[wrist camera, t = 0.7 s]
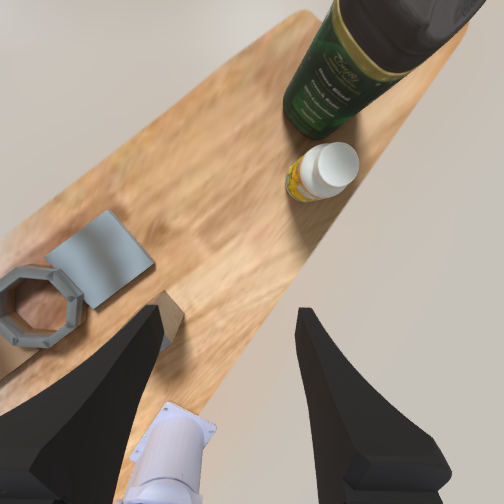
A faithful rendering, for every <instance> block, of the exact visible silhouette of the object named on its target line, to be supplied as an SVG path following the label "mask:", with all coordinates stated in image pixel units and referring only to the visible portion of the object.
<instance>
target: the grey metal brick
mask: <svg viewBox="0 0 504 504" xmlns="http://www.w3.org/2000/svg"><path fill="white" fill-rule="evenodd" d="M145 305H158V307H159V311H160V315H161V319H162V323H163V327H164V332H165V333H164V337H163V341H162V345H161V348H160V352H162V351H163V350H164V349H166V348H167V347H168V346H169V345H171V344H172V343H173V340H174V338H175V336H176V333H177V331H178V328H179V326H180V323H181V321H182V318H183V316H184V312H183V311H182V310H181V309H180V308H179V306H178V305H177V304H176V303H175V302H174V301H173V300H172V298H171V297H170V296H169V295H168V294H167V293H166V291H165V290H163V291H162V292H161V293H160V294H158V295H157V296H156V297H154V298H153V299H152V300H150V301H149V302H148V303H146V304H145ZM145 305H144V306H145ZM144 306H143V307H144ZM143 307H141V308H140V309H139V310H138V311H137V312H136V313H135V314H134V315H133V316H132V317H131V318H130V319H129V320H128V322H129V321H130V320H131V319H132V318H133V317H134V316H135V315H136V314H137V313H138V312H139V311H140V310H141V309H142V308H143ZM128 322H127V323H128ZM127 323H126V324H127ZM126 324H125V325H126ZM125 325H124V326H125ZM124 326H123V327H124ZM123 327H122V328H123ZM122 328H121V329H122ZM121 329H120V330H121ZM120 330H119V331H120ZM119 331H118V332H119ZM118 332H117V333H118ZM160 352H159V353H160Z"/></svg>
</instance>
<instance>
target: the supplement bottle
mask: <svg viewBox="0 0 504 504" xmlns="http://www.w3.org/2000/svg"><path fill="white" fill-rule="evenodd" d="M358 170H359V158H358V155H357V153H356V151H355V150H354V148H353V147H351V146H350V145H349V144H347V143H343V142H334V143H331V144H328V143H325V144H320V145H317V146H315V147H313V148H312V149H310V150H309V151H308V152H307V153H305V154H304V155H303V156H302V157H301V158H299V159H298V160H297V161H296V162H294V163H293V164H292V165H291V166H290V168H289V169H288V171H287V174H286V188H287V191H288V193H289V194H290V195H291V196H292V197H293V198H294V199H296V200H297V201H300V202H312V201H316V200H320V199H325V198H329V197H333V196H335V195H337V194H339V193H340V192H342V191H343V190H344V189H345V187H346V186H347V185H348V184H349V183H351V182H352V181H353V180H354V179H355V177H356V175H357V173H358Z"/></svg>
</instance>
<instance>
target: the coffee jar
mask: <svg viewBox="0 0 504 504" xmlns="http://www.w3.org/2000/svg"><path fill="white" fill-rule="evenodd" d="M485 1H486V0H334V1H333V3H332V5H331V7H330V9H329V11H328V13H327V15H326V17H325V19H324V21H323V23H322V25H321V27H320V29H319V30H318V32H317V34H316V36H315V38H314V40H313V42H312V43H311V45H310V47H309V49H308V51H307V53H306V55H305V57H304V58H303V60H302V62H301V64H300V66H299V67H298V69H297V71H296V73H295V75H294V76H293V78H292V80H291V82H290V84H289V86H288V87H287V89H286V91H285V94H284V98H283V107H284V110H285V113H286V115H287V117H288V118H289V120H290V121H291V122H292V123H293V125H294V126H295V127H296V128H297V129H298V130H299V131H300V132H301V133H302V134H304V135H305V136H307V137H308V138H311V139H316V140H319V139H323V138H325V137H327V136H329V135H330V134H331V133H333V132H334V131H335V130H337V129H338V128H339V127H341V126H342V125H343V124H344V123H346V122H347V121H348V120H349V119H351V118H352V117H353V116H354V115H356V114H357V113H358V112H360V111H361V110H362V109H364V108H365V107H366V106H368V105H369V104H370V103H372V102H373V101H374V100H376V99H377V98H378V97H380V96H381V95H382V94H383V93H385V92H386V91H387V90H389V89H390V88H391V87H392V86H394V85H395V84H396V83H398V82H399V81H400V80H401V79H403V78H404V77H405V76H407V75H408V74H409V73H410V72H412V71H413V70H414V69H416V68H417V67H418V66H420V65H421V64H422V63H423V62H424V61H426V60H427V59H428V58H429V57H430V56H432V55H433V54H434V53H435V52H436V51H437V50H438V49H439V48H441V47H442V46H443V45H444V44H445V43H447V42H448V41H449V40H450V39H451V38H452V37H453V36H454V35H455V34H456V33H457V32H458V31H459V30H460V29H461V28H462V27H463V26H464V25H465V24H466V23H467V22H468V21H469V20H470V19H471V18H472V17H473V16H474V15H475V13H476V12H477V11H478V10H479V9H480V8H481V6H482V5H483V4H484V3H485Z"/></svg>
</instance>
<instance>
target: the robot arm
mask: <svg viewBox="0 0 504 504" xmlns="http://www.w3.org/2000/svg"><path fill="white" fill-rule="evenodd" d="M164 333H165V332H164V327H163V323H162V319H161V315H160V311H159V307H158V305H145V306H144V307H143V308H142V309H141V310H140V311H139V312H138V313H137V314H136V315H135V316H134V317H133V318H132V319H131V320H130V321H129V322H128V323H127V324H126V325H125V326H124V327H123V328H122V329H121V330H120V331H119V332H118V333H116V334H115V335H114V336H113V337H112V338H111V339H110V340H109V341H108V342H107V343H106V344H104V345H103V346H102V347H101V348H100V349H99V350H98V351H96V352H95V353H94V354H93V355H92V356H91V357H89V358H88V359H87V360H86V361H84V362H83V363H82V364H80V365H79V366H78V367H76V368H75V369H74V370H73V371H71V372H70V373H68V374H67V375H65V376H64V377H63V378H61V379H60V380H58V381H57V382H55V383H54V384H52V385H51V386H50V387H48V388H47V389H45V390H43V391H42V392H40V393H39V394H37V395H36V396H34V397H32V398H31V399H29V400H27V401H26V402H24V403H22V404H21V405H19V406H17V407H16V408H14V409H12V410H11V411H9V412H7V413H5V414H3V415H1V416H0V504H112V503H113V498H114V494H115V490H116V486H117V481H118V477H119V473H120V469H121V465H122V461H123V457H124V454H125V450H126V446H127V442H128V439H129V435H130V432H131V428H132V425H133V421H134V418H135V415H136V411H137V408H138V405H139V402H140V399H141V397H142V394H143V391H144V389H145V387H146V384H147V382H148V379H149V377H150V374H151V372H152V369H153V367H154V364H155V362H156V359H157V357H158V354H159V352H160V348H161V345H162V341H163V337H164ZM295 342H296V352H297V357H298V362H299V367H300V371H301V376H302V380H303V385H304V390H305V394H306V399H307V404H308V410H309V418H310V425H311V434H312V441H313V450H314V459H315V469H316V478H317V489H318V499H319V504H443V502H442V500H441V498H440V496H439V493H438V490H439V489H440V488H442V487H443V486H444V485H445V484H446V483H447V482H448V481H449V480H450V478H451V476H452V471H451V469H450V467H449V465H448V463H447V461H446V459H445V457H444V456H443V454H442V452H441V450H440V449H439V447H438V446H437V444H436V443H435V441H434V439H433V438H432V437H431V436H430V435H428V434H427V433H426V432H424V431H423V430H422V429H420V428H419V427H418V426H417V425H415V424H414V423H413V422H411V421H410V420H409V419H408V418H406V417H405V416H404V415H403V414H402V413H400V412H399V411H398V410H397V409H396V408H395V407H393V406H392V405H391V404H390V403H389V402H388V401H387V400H386V399H385V398H384V397H383V396H382V395H381V394H380V393H378V392H377V391H376V390H375V389H374V388H373V387H372V386H371V385H370V384H369V383H368V382H367V381H366V380H365V379H364V378H363V377H362V376H361V374H360V373H359V372H358V371H357V370H356V369H355V368H354V367H353V366H352V364H351V363H350V362H349V361H348V360H347V359H346V357H345V356H344V355H343V353H342V352H341V351H340V350H339V348H338V347H337V346H336V345H335V343H334V342H333V341H332V339H331V338H330V336H329V335H328V333H327V332H326V331H325V329H324V328H323V326H322V324H321V323H320V321H319V319H318V318H317V316H316V314H315V313H314V311H313V309H312V308H299V310H298V318H297V323H296V330H295ZM165 408H167V410H166V409H165ZM216 429H217V427H216V425H215V424H213V423H211V422H209V421H207V420H205V419H203V418H201V417H199V416H197V415H195V414H193V413H191V412H189V411H187V410H185V409H183V408H182V407H180V406H178V405H176V404H174V403H172V402H166V403H165V404H164V406H163V407H162V409H161V410H160V412H159V413H158V415H157V416H156V418H155V419H154V421H153V422H152V424H151V425H150V427H149V428H148V430H147V431H146V433H145V434H144V436H143V437H142V438H141V440H140V441H139V443H138V444H137V446H136V447H135V449H134V450H133V452H132V453H131V455H130V460H131V461H133V462H135V465H134V468H133V471H132V474H131V476H130V479H129V482H128V485H127V488H126V490H125V493H124V496H123V499H122V500H121V499H118V500H117V501H116V502H115V503H114V504H202V495H199V486H200V474H201V462H202V451H203V449H204V447H205V446H206V444H207V443H208V441H209V440H210V439H211V437H212V436H213V434H214V433H215V431H216ZM210 431H212V432H210ZM137 450H138V451H137Z"/></svg>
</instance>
